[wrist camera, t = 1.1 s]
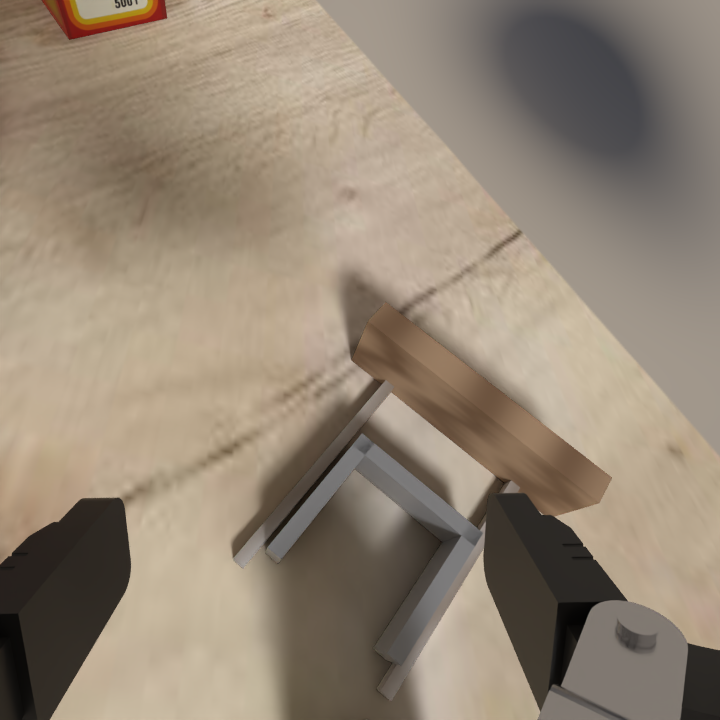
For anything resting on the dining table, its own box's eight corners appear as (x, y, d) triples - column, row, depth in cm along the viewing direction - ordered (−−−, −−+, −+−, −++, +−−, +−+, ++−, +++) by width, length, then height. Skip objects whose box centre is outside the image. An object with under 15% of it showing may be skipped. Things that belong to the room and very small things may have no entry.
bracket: (265, 553, 32) (267, 547, 29) (352, 448, 36) (362, 433, 33) (386, 660, 31) (401, 665, 28) (462, 539, 35) (483, 532, 32)
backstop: (196, 527, 32) (187, 511, 27) (367, 342, 40) (385, 302, 35) (427, 735, 30) (467, 763, 24) (560, 496, 38) (612, 477, 32)
